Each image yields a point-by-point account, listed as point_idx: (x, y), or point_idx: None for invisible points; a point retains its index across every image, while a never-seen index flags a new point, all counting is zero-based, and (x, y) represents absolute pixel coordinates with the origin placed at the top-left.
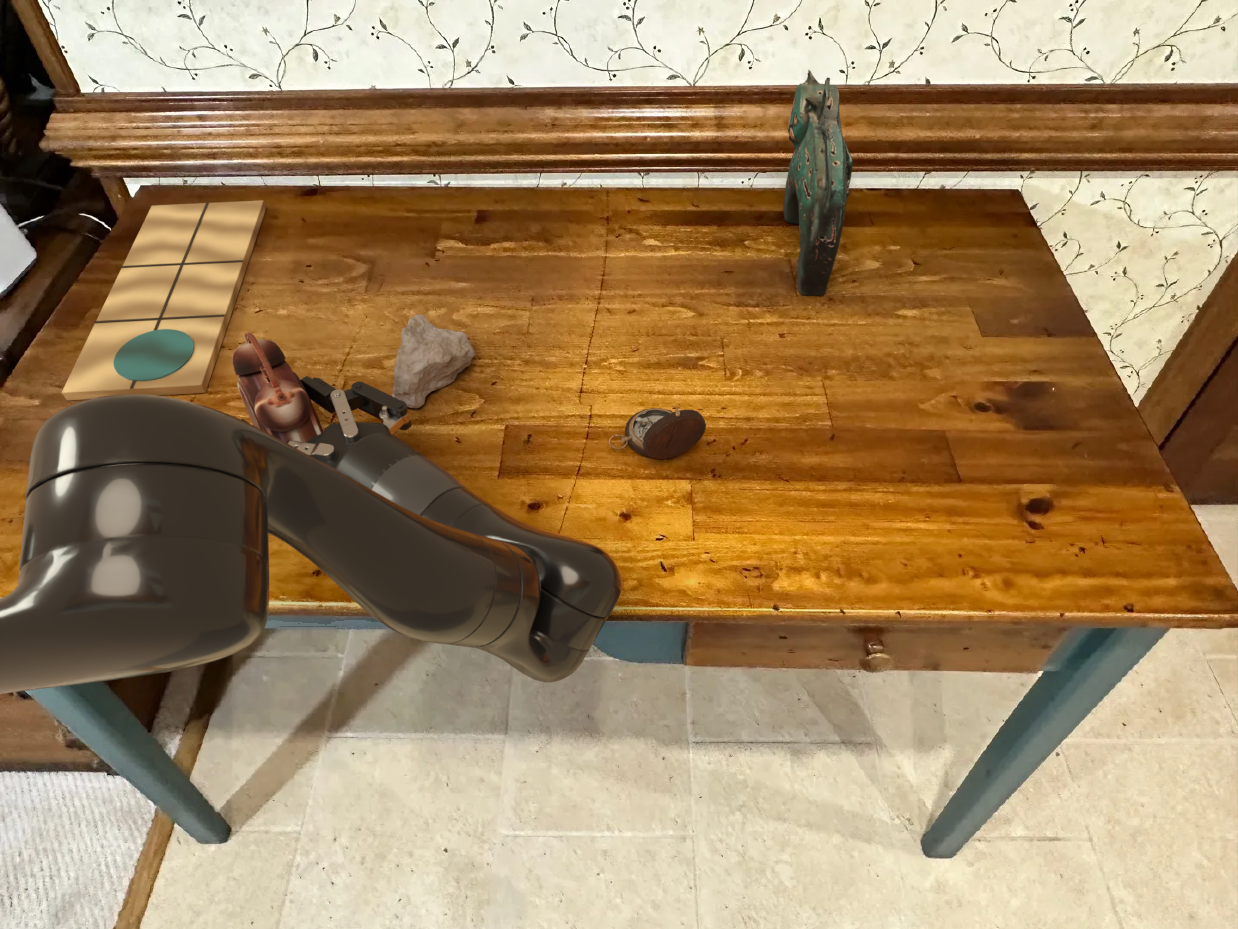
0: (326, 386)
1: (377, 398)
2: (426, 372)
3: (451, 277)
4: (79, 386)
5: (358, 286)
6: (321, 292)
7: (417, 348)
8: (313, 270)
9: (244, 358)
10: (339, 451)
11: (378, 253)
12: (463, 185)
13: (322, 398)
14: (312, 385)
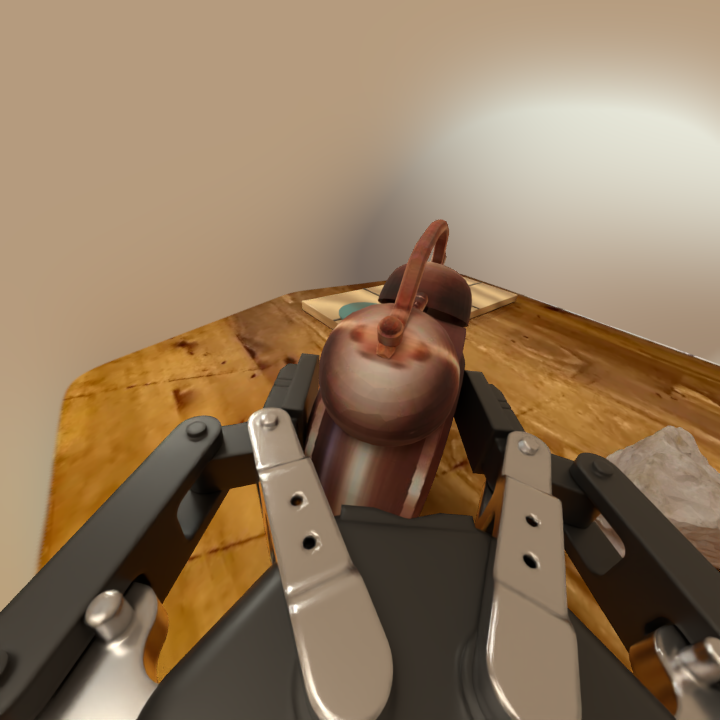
0: (506, 413)
1: (680, 570)
2: (690, 535)
3: (695, 423)
4: (313, 304)
5: (565, 369)
6: (526, 355)
7: (697, 480)
8: (528, 340)
9: (404, 271)
10: (405, 706)
11: (598, 360)
12: (714, 363)
13: (480, 428)
14: (480, 391)
